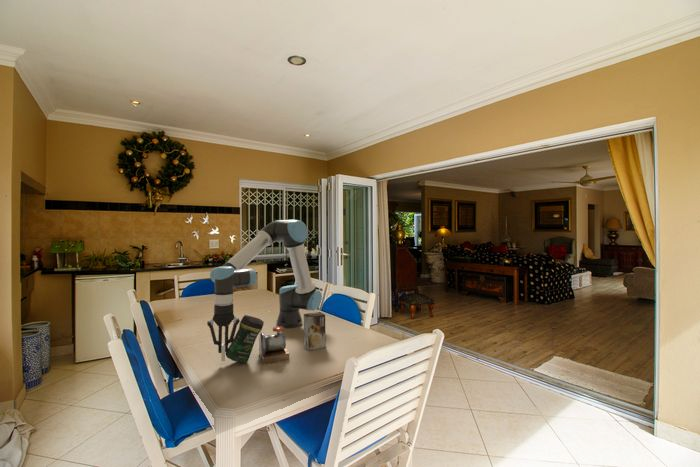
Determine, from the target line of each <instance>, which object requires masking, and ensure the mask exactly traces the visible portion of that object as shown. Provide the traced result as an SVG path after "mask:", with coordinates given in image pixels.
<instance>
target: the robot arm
mask: <svg viewBox="0 0 700 467" xmlns="http://www.w3.org/2000/svg"><path fill="white" fill-rule="evenodd" d="M308 234H309V230H308V227H307V225H306V224H305V222H303V221H302V220H299V219H283V220H282V219H277V220H274V221H272V222H270V223H268V224H267V225H265V226H264V227H263V228H261V229H260V230H259V231H258V232H257V234H256V236H255V237H253V238H252V239H251V240H250V241H249V242H248V243H247V244H246V245H245V246H243V247H242V248H241V249H240V250H239V251H238V252H236V254H234V255H233V256H232V257H231V258H230V259H228V260H227V261H226V262H225V263H224V264H223V265H222V266H218V267H217V266H216V267H213V268H212V269H211V271H210V274H209V277H210V280H211V281H212V282H213V283H214V297H213V301H214V302H213V303H214V305H213V316H212V319H210V320H208V321H206V322H207V323H206V324H207V326H208V327H209V330H210V334H211V337H212V342H213V344H214V346H215V345H216V346H218V347H217V348H218V350H217V351H218V354H220V361H221V362H225V361H226V352H228V348H229V345H230V344H231V343H232V342H233V339H234V337H235V335H236V331H237V327H238V326H239V324H240V321H241V320H240V318H238V317H235V314H234V299H235V298H234V294H235V288H242V287H249V286H252V285H254V284H255V283H256V281H257V279H258V278H257V272H256V271H255V269H252V268H245V267H246V266H247V265H249V263H250V262H251V261H253V260H254V259H255V258H256V257H257V256H258V255H259V254H260V253H261V252H262V251H263V250H264V249H265V248H267V247H269V246H271V245H273V244H274V243H277V242H282V243H283V247H284V248H285V249H286V250H287V252H288V255H289V256H288V257H289V259H290V264H291V267H292V268H291V269H292V271H293V275H294V279H295V283H296V284H292V285H286V286H285V285H284V286H282V287H280V288H279V294H278V297H279V298H278V299H279V301H278V302H279V312H278V316H277V318H276V327H277V326H282V327H284V329H286V328H287V329H290V328H297V327H300V326H301V325H303V318H302V315H301V312H300V309H301V310H306V311H316V310H317V309H319V308H320V306H321V303H322V299H323V296H322V292H321V291H320V289H319V290H318V289H316V284H315V283H313V282H312V277H311V273H310V269H309V264H308V260H307V256H306V251H305V247H304V244H306V240H307V238H308ZM214 323H215V324H216V325H217V327H218V334H217V335H218V338H217V336H216V333H215V327H214ZM232 323H233V325H232V327H231V328H232V329H231V332H230V336H229V326H230V325H231V324H232ZM223 327H224V343H223ZM217 339H218V340H217Z"/></svg>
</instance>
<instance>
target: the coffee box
mask: <svg viewBox="0 0 700 467" xmlns="http://www.w3.org/2000/svg"><path fill="white" fill-rule="evenodd" d="M326 334H327V333H326V314H325V313H323V312H321V311H316V312H310V313H304V314H303V347H304V348H306V349H307V351H312V350H317V349H318V350H319V349H322V348H326V347H327V343H326V339H327V338H326V337H327V336H326Z"/></svg>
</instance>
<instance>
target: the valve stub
mask: <svg viewBox="0 0 700 467" xmlns="http://www.w3.org/2000/svg"><path fill="white" fill-rule="evenodd" d="M284 330H285V328H284V327H282V326H277V325H276V326H274V327H272V332H275V333H276V334H268V335H265V333H264V332H260V333H259V334H258V354H259V357H260V359H261V362H262V364H263V365H269V364H273V363H274V364H275V363H280V362H286V361H287V362H288V361H290V352H289V350H288V349H287V347H286V345H287V343H286V342H287V340H286V335H285V333H284V332H283V331H284ZM281 332H282V333H281Z"/></svg>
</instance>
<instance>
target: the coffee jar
mask: <svg viewBox="0 0 700 467" xmlns="http://www.w3.org/2000/svg"><path fill="white" fill-rule="evenodd" d="M264 324H265V323H264V320H262V319H260V318H259V317H255V316H251V315H247V314H244V315H243V316H242V318H241V320H240V322H239V324H238V326H239V327H238V330H236V331H237V332H235V335H234V339H233V342H232V343H229V345H228V352H225V357H226V358H227V359H229V360H231V361H233V362H237V363H247V362H249V359H250V357H251V353H252V352H253V347H254V345H255V343H256V340H257V337H259V334H260V333H262V330H263V327H264Z"/></svg>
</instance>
